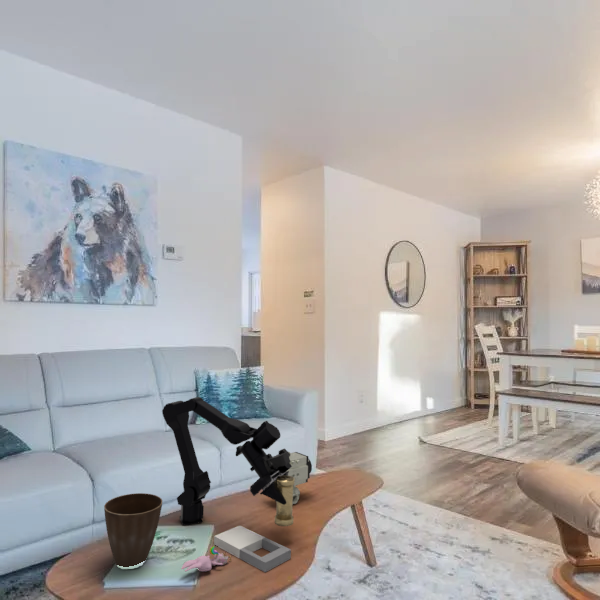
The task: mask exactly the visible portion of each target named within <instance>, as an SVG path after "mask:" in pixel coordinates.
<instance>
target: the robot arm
mask: <svg viewBox="0 0 600 600" xmlns="http://www.w3.org/2000/svg"><path fill="white" fill-rule="evenodd" d="M161 412H162V416H163V419H164V421H165V424H166V425H167V426H168V427H169V428H170V429H171V430H172V432H173V435H174V440H175V442H176V443H175V444H176V447H177V449H178V450H177V451H178V454H179V456H180V458H179V459H180V461H181V464H182V467H183V468H182V469H183V472H184V476H183V482H182V485H183V492H181V493H180V495H178V496H177V497H176V501H177V505H180V515H179V520H180V522H181V526H189V525H196V524H202V523H203V521H204V520H203V518H204V508H205V506H204V504H203V501H202V500H204V499H205V498H206V496H207V495H208V493H209V492H210V489H211V483H212V481H211V479H210V477H209V472H208V470H205V471H203V470H202V469H201V467H200V466H199V465H200V464H199V461H198V457H197V454H196V451H195V447H194V443H193V441H192V436H191V434H190V433H191V432H190V429H189V426H188V425H189V422H190V412H193V413H195V414H197V415H198V416H199V417H201V418H203V419H204V420H205V421H207V422H208V423H209V424H211V425H213V427H215V428H217V429H218V430H219V431H220V432H221V434H222V436H223V438H225V440H226V441H228V442H229V443H230V444H232V445H234V446H235V445H238V446H236V449H235V450H236V451H235V456H236V457H239V456H240V455H243V456H244V458H245V460H246V461H247V462H248V464H249V465H250V468H249V470H250V471H251V472H254V471H255V473H256V475H257V476H258V477H259V478H258V479H257V480H256V481H255V482H253V483H252V484H251V485H250V486H249V491H250V493H251V494H252V496H253V497H256V495H258V494H259V493H260V495H263V496H265V497H268V498H269V499H272V500H274V501H275V502H276V501H277V502H279V503H281V504H283V505H285V504H286V503H287V502H286V500H285V498H284V497H283V495H282V493H281V492H280V490H279V488H278V487H277V479H276V478H277V477H278V476H284V475H286V476H288V473H289V471H288V470H289V469H290V468H291V467H292V466H291V464H290V463H289V462H291V461H290V458H289V457H290V453H291V452H290V453H288V452H289V451H288V450H286V448H282V449H280V450H278V454H276V455H272V454H271V453H268V454H267V453H266V452H265V451H264V450H268V449H270V448H271V446H273V445H274V444H276V442H277V441H278V440H279V439H280V438H281V432H280V430H279V428H278V427H277V426H275V425H273V424H272V423H269V421H268V420H265V421H263V422H262V423H261V424H260V426H258V428H255V427H252V426H250V424H248V423H246V422H245V421H243V420H239V419H237V418H232V417H229V416H228V415H226V414H225V413H223V412H221V411H220V410H219V409H217V408H216V407H215V406H213V405H212V404H209V403H208V402H207V401H206V400H204V398H202V397H200V396H196V397H192V398H189V399H188V400H185V401H183V400H177V401H173V402H170V403H166V404H165V405H164V406H163V408H162V411H161ZM251 439H252V440H251ZM243 442H244V443H243ZM241 443H243V444H242V445H239V444H241ZM286 471H287V472H286ZM285 472H286V473H285ZM277 502H276V503H277Z"/></svg>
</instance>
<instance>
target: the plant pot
mask: <svg viewBox="0 0 600 600" xmlns="http://www.w3.org/2000/svg"><path fill="white" fill-rule="evenodd" d="M162 506H163V499H162V498H161V497H160V496H158V495H156V494H151V493H143V492H141V493H127V494H122V495H120V496H119V495H118V496H116V497H113V498H111V499H109V500H107V502H106V503H105V504H104V505H103V509H104V520H105V528H106V532H107V538H108V543H109V547H110V551H111V553H112V557H113V561H114V563H115V566H116V565H119V566H123V567H129V566H134V565H137V564H139V563H141V562H143V561H145V560H146V561H147V559H148V556H149V553H150V551H151V549H152V546H153V543H154V540H155V536H156V533H157V529H158V525H159V521H160V517H161V513H162ZM146 558H147V559H146Z"/></svg>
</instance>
